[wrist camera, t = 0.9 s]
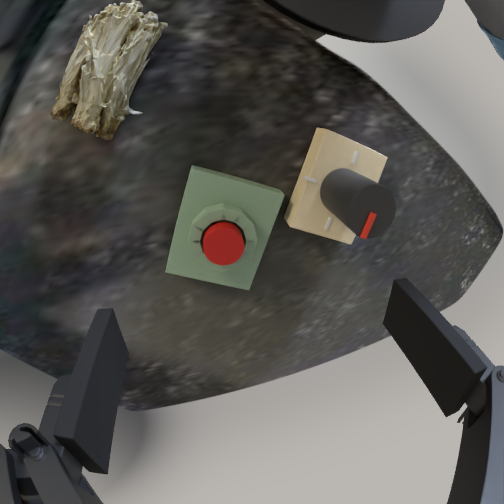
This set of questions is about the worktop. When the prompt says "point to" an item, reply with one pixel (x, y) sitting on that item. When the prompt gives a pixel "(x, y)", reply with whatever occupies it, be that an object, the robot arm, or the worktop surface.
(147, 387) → the worktop surface
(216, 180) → the switch base
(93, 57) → the mushroom
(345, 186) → the dial
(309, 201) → the dial panel
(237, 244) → the switch button
